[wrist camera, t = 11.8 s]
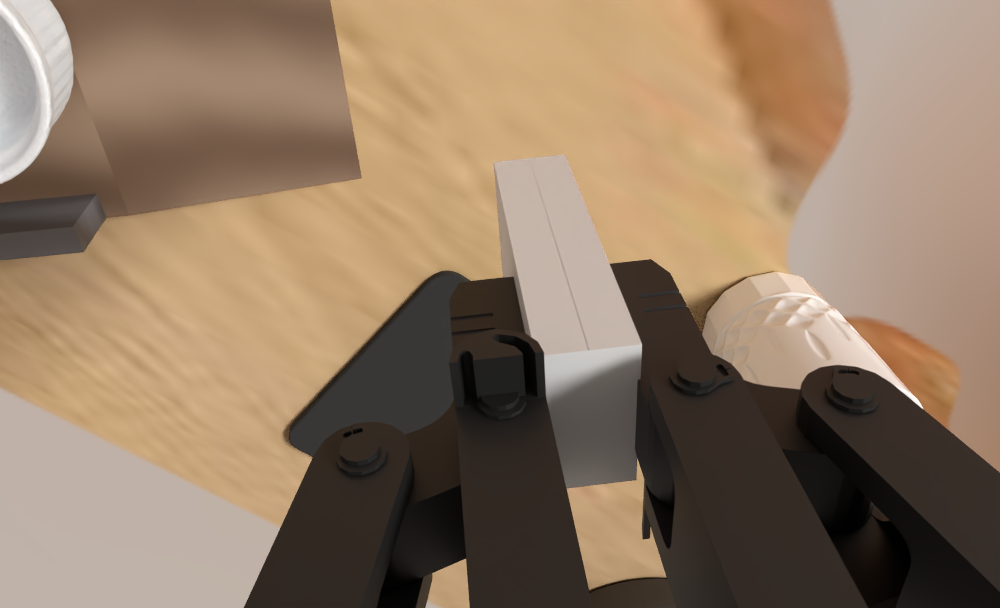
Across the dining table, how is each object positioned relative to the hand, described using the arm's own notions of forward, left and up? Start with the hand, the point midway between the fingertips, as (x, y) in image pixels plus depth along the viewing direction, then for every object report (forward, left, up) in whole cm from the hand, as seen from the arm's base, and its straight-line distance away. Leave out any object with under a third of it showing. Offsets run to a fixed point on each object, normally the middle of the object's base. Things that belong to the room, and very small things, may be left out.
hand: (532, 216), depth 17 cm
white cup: (-19, -15, -19) cm, 31 cm away
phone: (-21, +5, -20) cm, 29 cm away
